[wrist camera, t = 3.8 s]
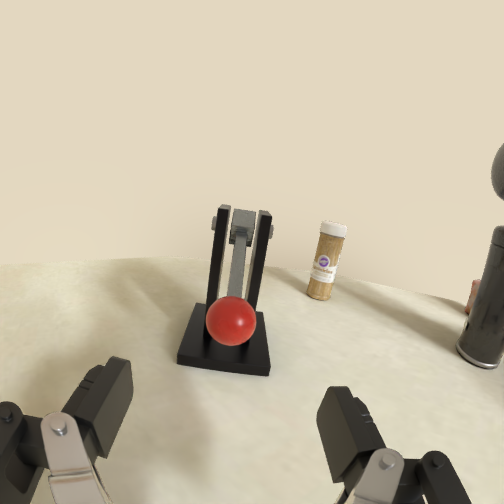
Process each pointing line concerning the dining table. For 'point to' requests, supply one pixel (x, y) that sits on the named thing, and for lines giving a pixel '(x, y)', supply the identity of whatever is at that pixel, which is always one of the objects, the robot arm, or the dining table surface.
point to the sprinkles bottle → (326, 260)
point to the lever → (234, 289)
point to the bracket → (196, 335)
